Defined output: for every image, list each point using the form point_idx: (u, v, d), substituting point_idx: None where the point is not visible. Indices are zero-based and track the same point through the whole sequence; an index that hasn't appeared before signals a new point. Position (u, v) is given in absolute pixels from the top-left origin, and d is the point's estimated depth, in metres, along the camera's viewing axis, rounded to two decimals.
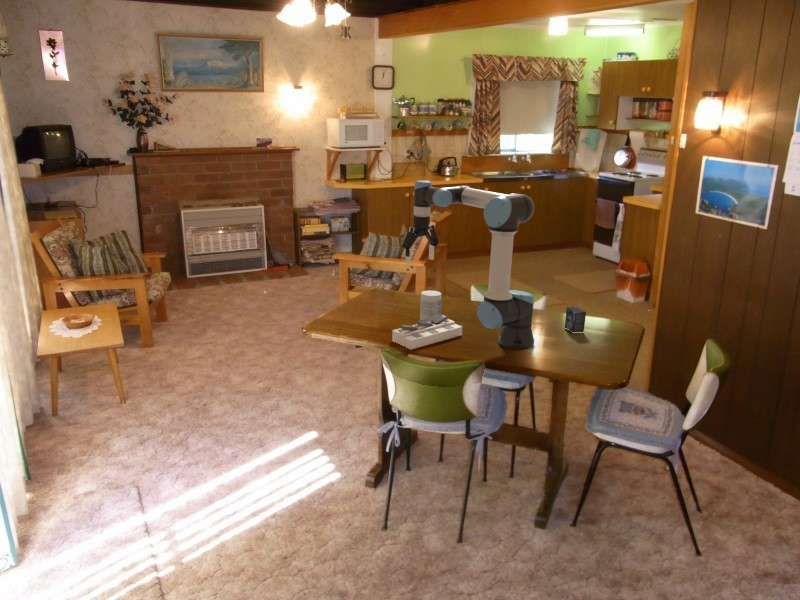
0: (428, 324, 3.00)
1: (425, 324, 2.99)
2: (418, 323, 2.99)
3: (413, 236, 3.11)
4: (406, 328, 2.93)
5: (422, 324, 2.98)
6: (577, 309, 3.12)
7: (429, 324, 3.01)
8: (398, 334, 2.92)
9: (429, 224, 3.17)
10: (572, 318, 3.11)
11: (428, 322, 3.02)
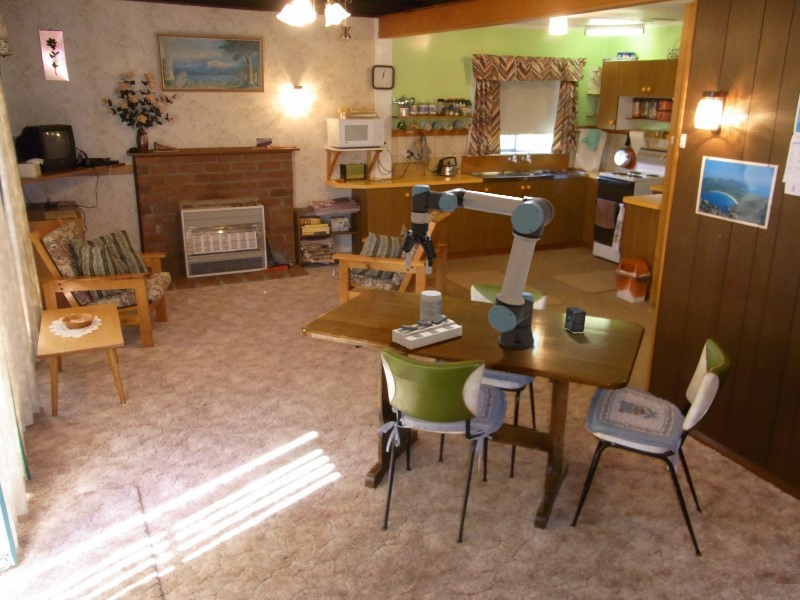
0: (428, 324, 3.00)
1: (425, 324, 2.99)
2: (418, 323, 2.99)
3: None
4: (406, 328, 2.93)
5: (422, 324, 2.98)
6: (577, 309, 3.12)
7: (429, 324, 3.01)
8: (398, 334, 2.92)
9: (430, 235, 2.91)
10: (572, 318, 3.11)
11: (428, 322, 3.02)
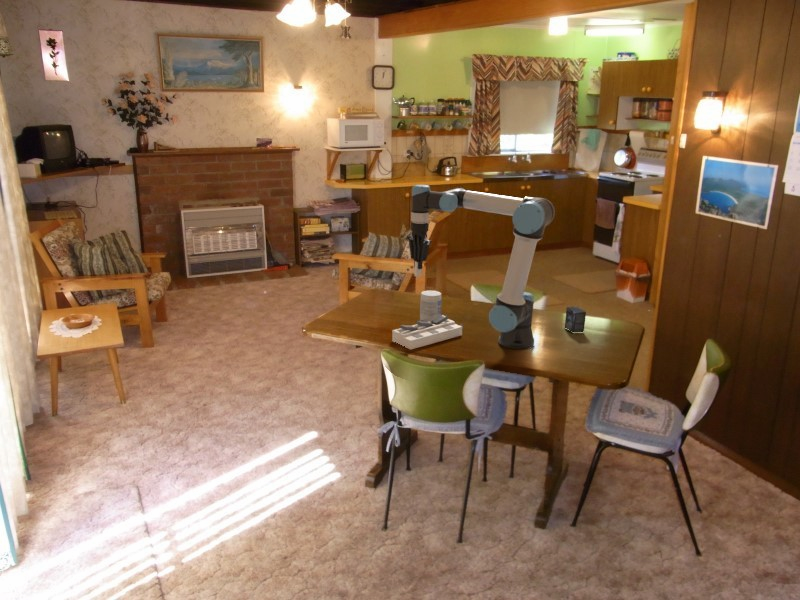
0: (428, 324, 3.00)
1: (425, 324, 2.99)
2: (418, 323, 2.99)
3: None
4: (406, 328, 2.93)
5: (422, 324, 2.98)
6: (577, 309, 3.12)
7: (429, 324, 3.01)
8: (398, 334, 2.92)
9: (430, 240, 2.91)
10: (572, 318, 3.11)
11: (428, 322, 3.02)
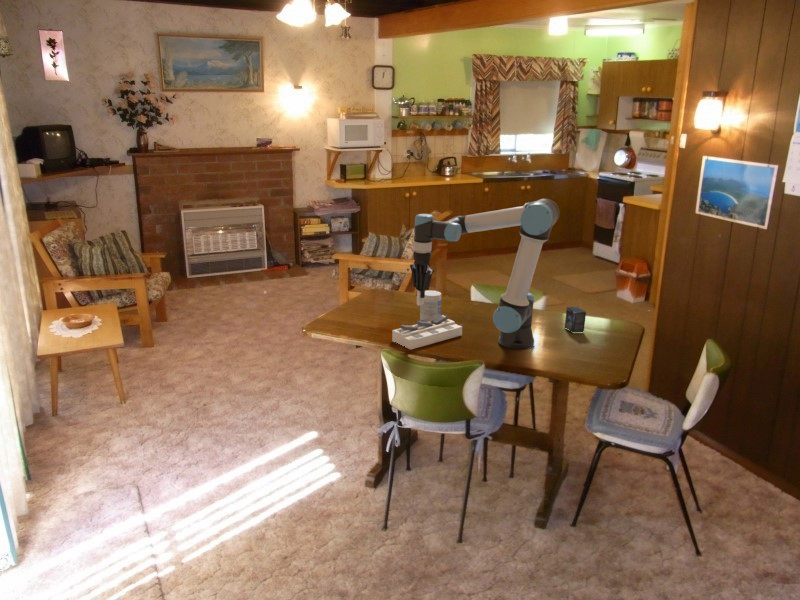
0: (428, 324, 3.00)
1: (425, 324, 2.99)
2: (418, 323, 2.99)
3: None
4: (406, 328, 2.93)
5: (422, 324, 2.98)
6: (577, 309, 3.12)
7: (429, 324, 3.01)
8: (398, 334, 2.92)
9: None
10: (572, 318, 3.11)
11: (428, 322, 3.02)
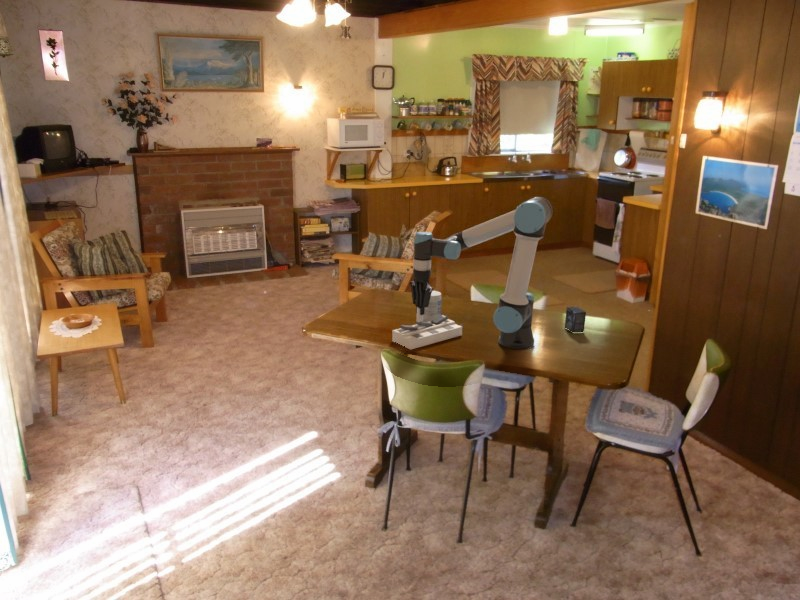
0: (428, 324, 3.00)
1: (425, 324, 2.99)
2: (418, 323, 2.99)
3: None
4: (406, 328, 2.93)
5: (422, 324, 2.98)
6: (577, 309, 3.12)
7: (429, 324, 3.01)
8: (398, 334, 2.92)
9: (432, 287, 2.91)
10: (572, 318, 3.11)
11: (428, 322, 3.02)
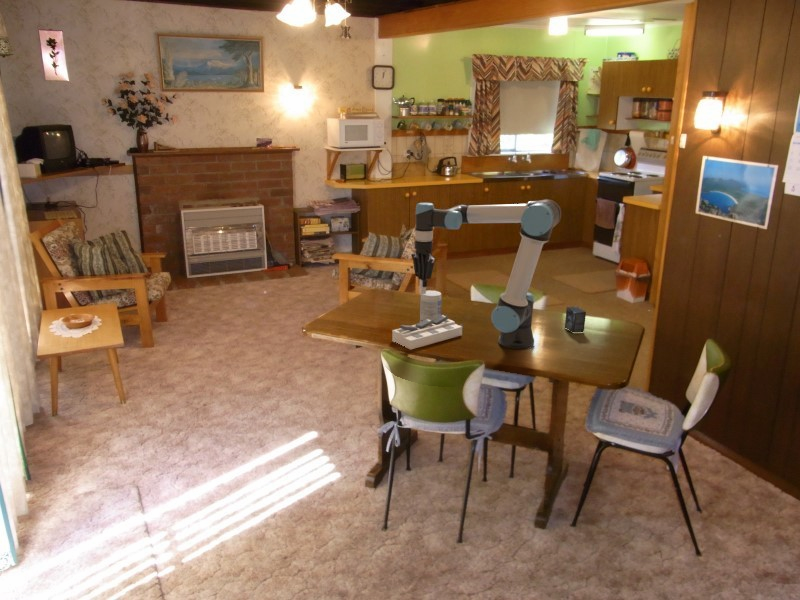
0: (428, 323, 3.00)
1: (425, 325, 2.99)
2: (418, 326, 2.99)
3: None
4: (406, 328, 2.93)
5: (422, 326, 2.98)
6: (577, 309, 3.12)
7: (429, 323, 3.01)
8: (398, 334, 2.92)
9: (434, 258, 2.89)
10: (572, 318, 3.11)
11: (428, 320, 3.02)
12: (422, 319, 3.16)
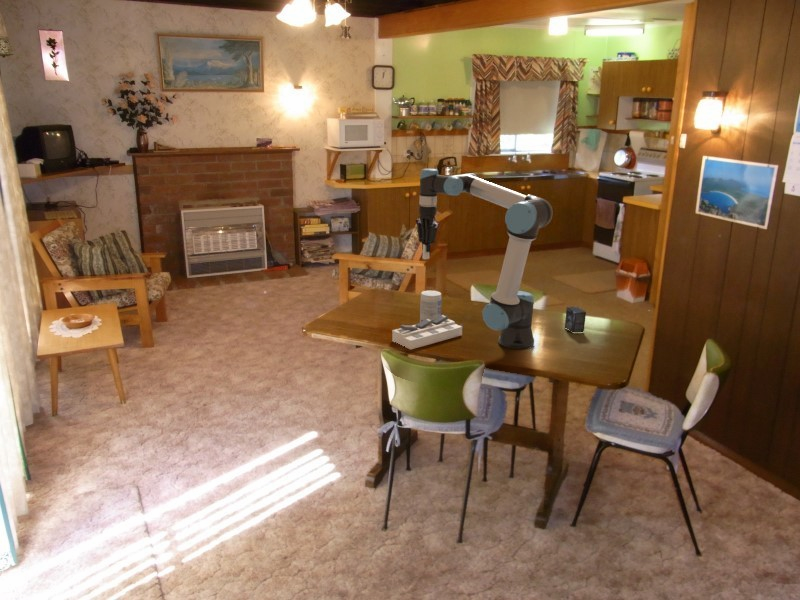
0: (428, 323, 3.00)
1: (425, 325, 2.99)
2: (418, 327, 2.99)
3: None
4: (406, 328, 2.93)
5: (422, 327, 2.98)
6: (577, 309, 3.12)
7: (429, 322, 3.01)
8: (398, 334, 2.92)
9: (438, 223, 2.95)
10: (572, 318, 3.11)
11: (428, 320, 3.02)
12: (422, 319, 3.16)
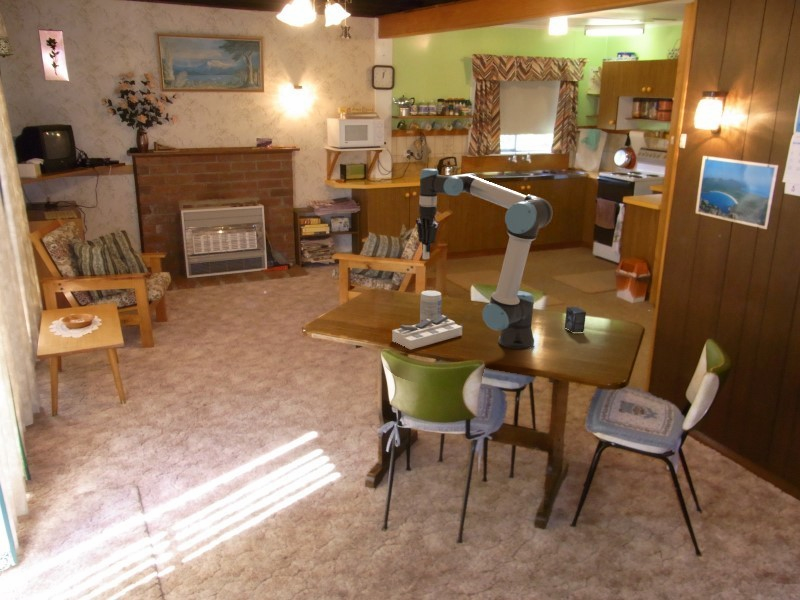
0: (428, 323, 3.00)
1: (425, 326, 2.99)
2: (418, 327, 2.99)
3: None
4: (406, 328, 2.93)
5: (422, 327, 2.98)
6: (577, 309, 3.12)
7: (429, 322, 3.01)
8: (398, 334, 2.92)
9: (438, 223, 2.95)
10: (572, 318, 3.11)
11: (427, 320, 3.02)
12: (422, 319, 3.16)
